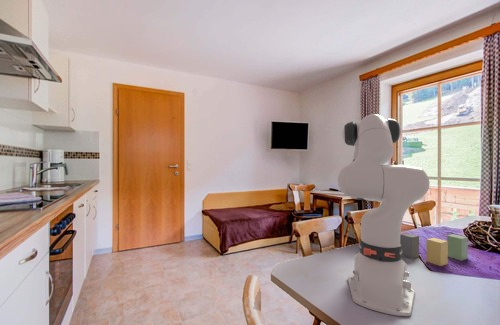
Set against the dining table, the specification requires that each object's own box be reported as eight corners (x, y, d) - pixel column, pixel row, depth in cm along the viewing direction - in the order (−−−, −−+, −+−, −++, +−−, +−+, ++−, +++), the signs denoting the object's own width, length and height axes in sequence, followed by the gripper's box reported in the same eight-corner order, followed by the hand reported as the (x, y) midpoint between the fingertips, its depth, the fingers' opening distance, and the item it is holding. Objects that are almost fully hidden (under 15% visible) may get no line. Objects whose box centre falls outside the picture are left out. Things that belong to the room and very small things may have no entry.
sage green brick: (467, 258, 101) (467, 237, 101) (461, 260, 99) (461, 238, 99) (453, 254, 105) (453, 234, 105) (447, 256, 103) (447, 235, 103)
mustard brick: (447, 264, 95) (447, 241, 95) (440, 266, 93) (440, 242, 93) (433, 259, 100) (433, 237, 100) (426, 261, 98) (426, 239, 98)
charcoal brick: (418, 257, 102) (419, 236, 102) (411, 259, 100) (411, 237, 100) (406, 253, 107) (407, 232, 107) (399, 254, 104) (400, 234, 104)
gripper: (372, 189, 122) (399, 192, 110) (397, 188, 131) (425, 190, 118) (372, 201, 122) (399, 206, 110) (397, 199, 131) (425, 203, 118)
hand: (413, 198), depth 114 cm, fingers open, 8 cm apart
